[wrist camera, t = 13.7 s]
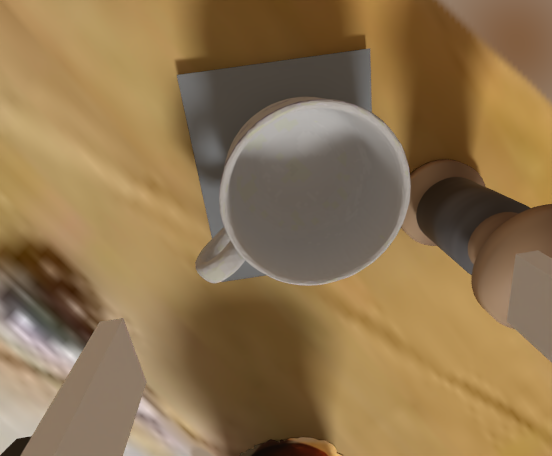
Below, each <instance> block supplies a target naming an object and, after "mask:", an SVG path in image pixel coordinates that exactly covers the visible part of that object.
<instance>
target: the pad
mask: <svg viewBox="0 0 552 456" xmlns="http://www.w3.org/2000/svg"><path fill="white" fill-rule="evenodd" d="M177 78H178V83H179V87H180V92H181V97H182V101H183V106H184V110H185V115H186V120H187V124H188V129H189V134H190V138H191V143H192V148H193V152H194V157H195V161H196V166H197V171H198V175H199V180H200V185H201V189H202V194H203V199H204V203H205V208H206V212H207V217H208V222H209V226H210V231H211V236H212V239H213V237H214V236H215V235H216V234H217V233H218V232H219V231H220V230H221V229H222V228H223V227H224V226H223V223H222V219H221V215H220V209H219V189H220V182H221V178H222V174H223V171H224V166H225V161H226V158H227V154H228V151H229V149H230V146H231V144H232V142H233V140H234V138H235V137H236V135H237V134H238V132H239V131H240V129H241V128H242V127H243V126H244V124H245V123H246V122H247V121H248V120H249V119H250V118H251V117H253V116H254V115H255V114H256V113H258V112H259V111H261V110H262V109H264V108H266V107H267V106H269V105H271V104H274V103H276V102H279V101H282V100H285V99H289V98H296V97H318V98H325V99H333V100H339V101H344V102H348V103H351V104H354V105H357V106H359V107H362V108H364V109H366V110H368V111H370V112H372V108H371V67H370V49H363V50H355V51H348V52H341V53H334V54H326V55H319V56H312V57H305V58H297V59H290V60H283V61H276V62H268V63H261V64H254V65H247V66H240V67H232V68H225V69H218V70H211V71H203V72H196V73H189V74H182V75H177ZM258 276H265V274H264V273H262V272H260V271H258V270H257V269H255V268H254V267H253V266H251V265H250V264H249V263H248V262H246V261H245V262H244V263H243V264H242V265H241V266H240V268H239V269H238V270H237V271H236V272H235V273H233V274H232V275H231V276H229V277H228V278H227V279H225V280H223V281H221V282H225V281H231V280H238V279H245V278H252V277H258Z"/></svg>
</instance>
